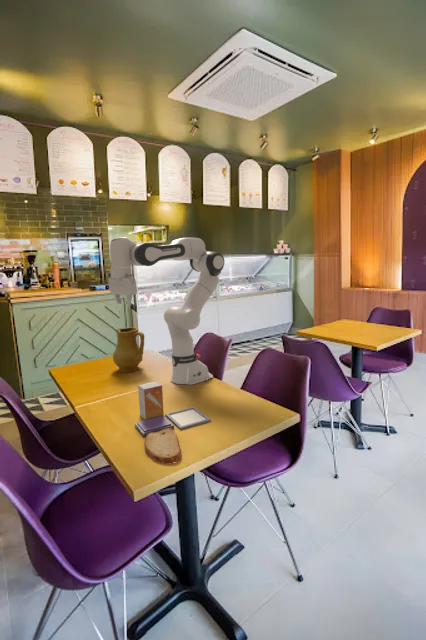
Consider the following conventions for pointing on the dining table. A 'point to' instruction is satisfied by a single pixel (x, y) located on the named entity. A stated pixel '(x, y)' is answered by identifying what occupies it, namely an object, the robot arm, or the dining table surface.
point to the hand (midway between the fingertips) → (124, 304)
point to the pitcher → (128, 349)
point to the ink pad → (153, 425)
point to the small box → (150, 400)
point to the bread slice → (163, 446)
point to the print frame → (187, 417)
